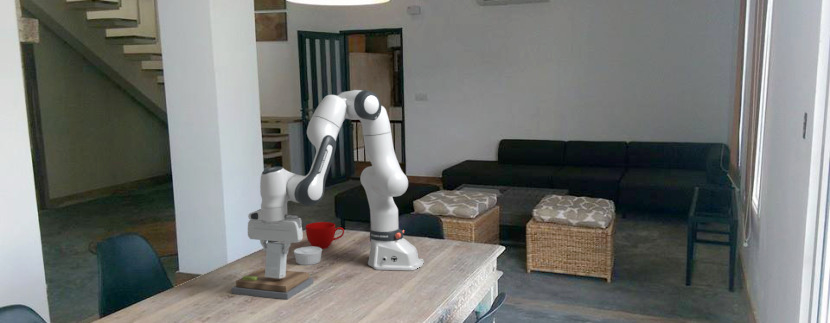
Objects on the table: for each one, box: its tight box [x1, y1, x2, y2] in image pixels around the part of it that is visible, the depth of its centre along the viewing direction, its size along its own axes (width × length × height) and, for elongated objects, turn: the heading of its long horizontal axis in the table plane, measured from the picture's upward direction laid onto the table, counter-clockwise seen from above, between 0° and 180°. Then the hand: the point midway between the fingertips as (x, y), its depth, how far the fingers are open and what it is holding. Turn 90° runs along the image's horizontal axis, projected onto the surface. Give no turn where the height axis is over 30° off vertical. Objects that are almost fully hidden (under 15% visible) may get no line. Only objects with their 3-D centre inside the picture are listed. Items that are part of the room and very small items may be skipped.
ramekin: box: [293, 245, 323, 266], centre depth 255 cm, size 11×11×5 cm
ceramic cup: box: [305, 221, 345, 250], centre depth 277 cm, size 13×17×10 cm
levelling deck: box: [235, 267, 310, 292], centre depth 222 cm, size 20×16×4 cm
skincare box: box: [264, 241, 288, 279], centre depth 219 cm, size 6×4×12 cm
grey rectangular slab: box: [231, 277, 314, 300], centre depth 223 cm, size 22×18×2 cm
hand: (276, 252), depth 218 cm, fingers closed on skincare box, 6 cm apart
